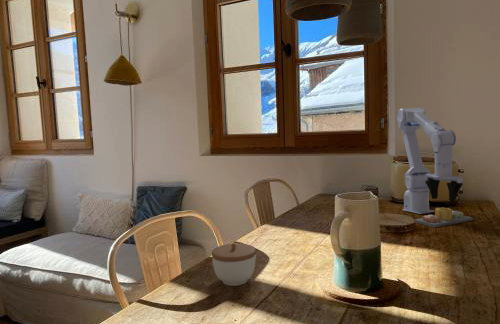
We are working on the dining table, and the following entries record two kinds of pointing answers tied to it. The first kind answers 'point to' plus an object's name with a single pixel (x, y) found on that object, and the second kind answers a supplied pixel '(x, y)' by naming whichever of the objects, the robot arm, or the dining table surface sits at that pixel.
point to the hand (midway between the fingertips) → (443, 200)
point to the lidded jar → (234, 263)
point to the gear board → (436, 222)
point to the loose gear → (444, 213)
